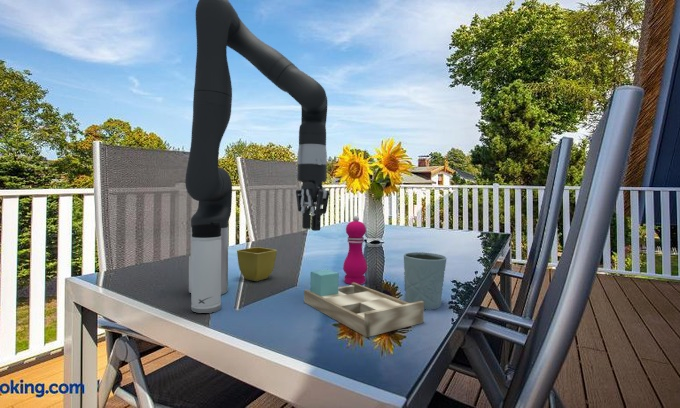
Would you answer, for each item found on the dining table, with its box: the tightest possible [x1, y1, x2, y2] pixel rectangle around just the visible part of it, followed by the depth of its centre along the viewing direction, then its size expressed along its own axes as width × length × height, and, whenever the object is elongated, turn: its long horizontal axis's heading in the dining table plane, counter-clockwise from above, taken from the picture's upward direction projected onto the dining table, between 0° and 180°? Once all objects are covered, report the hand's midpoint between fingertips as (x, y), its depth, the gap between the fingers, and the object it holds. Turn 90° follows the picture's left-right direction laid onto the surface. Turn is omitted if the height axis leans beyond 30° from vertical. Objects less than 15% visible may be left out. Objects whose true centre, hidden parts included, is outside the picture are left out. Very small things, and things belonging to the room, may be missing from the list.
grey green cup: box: [403, 251, 448, 311], centre depth 89 cm, size 10×10×12 cm
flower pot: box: [236, 246, 278, 282], centre depth 111 cm, size 9×9×9 cm
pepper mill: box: [342, 215, 368, 285], centre depth 109 cm, size 7×7×20 cm
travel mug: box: [190, 222, 222, 314], centre depth 82 cm, size 6×7×20 cm
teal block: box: [309, 269, 340, 296], centre depth 89 cm, size 5×5×5 cm
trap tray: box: [303, 283, 425, 338], centre depth 83 cm, size 15×25×4 cm, turn 33°
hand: (311, 229), depth 94 cm, fingers open, 4 cm apart
